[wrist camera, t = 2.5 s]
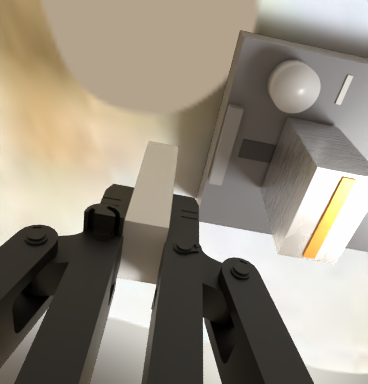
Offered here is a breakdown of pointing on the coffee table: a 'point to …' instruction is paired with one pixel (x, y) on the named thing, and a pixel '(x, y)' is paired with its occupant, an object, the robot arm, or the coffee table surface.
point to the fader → (314, 191)
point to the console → (277, 122)
